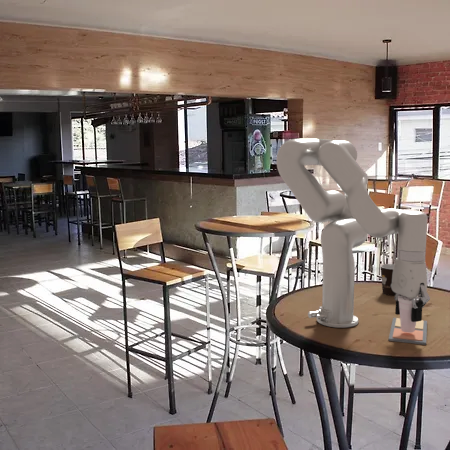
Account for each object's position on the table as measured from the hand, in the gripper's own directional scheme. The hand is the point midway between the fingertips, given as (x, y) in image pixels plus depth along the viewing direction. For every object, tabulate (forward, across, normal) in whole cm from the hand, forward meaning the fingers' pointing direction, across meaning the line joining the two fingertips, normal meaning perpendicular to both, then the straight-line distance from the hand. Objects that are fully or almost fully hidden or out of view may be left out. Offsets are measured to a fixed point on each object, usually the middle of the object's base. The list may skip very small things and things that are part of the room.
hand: (408, 317), depth 164 cm
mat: (+6, -4, +3) cm, 8 cm away
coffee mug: (+6, -38, +24) cm, 45 cm away
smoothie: (+4, 0, 0) cm, 4 cm away
